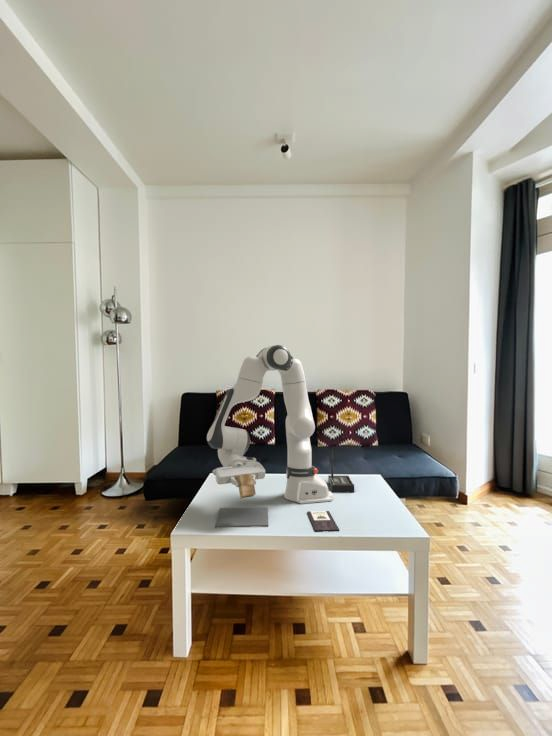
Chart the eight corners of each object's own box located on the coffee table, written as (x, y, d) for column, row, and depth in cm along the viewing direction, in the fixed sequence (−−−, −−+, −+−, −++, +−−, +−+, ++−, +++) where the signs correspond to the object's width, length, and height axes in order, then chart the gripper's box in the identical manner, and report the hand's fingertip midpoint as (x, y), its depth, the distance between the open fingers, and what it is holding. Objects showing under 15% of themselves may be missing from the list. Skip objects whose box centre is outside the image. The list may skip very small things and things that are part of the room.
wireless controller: (357, 493, 183) (357, 457, 183) (328, 493, 183) (328, 457, 183) (350, 480, 203) (350, 448, 203) (323, 480, 203) (323, 448, 203)
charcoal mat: (267, 508, 163) (267, 507, 163) (268, 526, 145) (268, 525, 145) (220, 509, 162) (219, 508, 162) (214, 527, 144) (214, 525, 144)
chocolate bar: (315, 530, 140) (307, 511, 158) (315, 533, 140) (307, 513, 158) (339, 529, 141) (328, 511, 159) (339, 532, 141) (328, 513, 159)
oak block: (252, 496, 150) (248, 475, 154) (255, 494, 147) (251, 473, 150) (240, 498, 148) (237, 477, 152) (243, 495, 145) (239, 474, 148)
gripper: (211, 462, 156) (220, 480, 144) (258, 457, 164) (271, 473, 152) (210, 476, 158) (219, 495, 146) (257, 470, 166) (269, 487, 154)
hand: (246, 484), depth 149 cm, fingers closed on oak block, 5 cm apart
